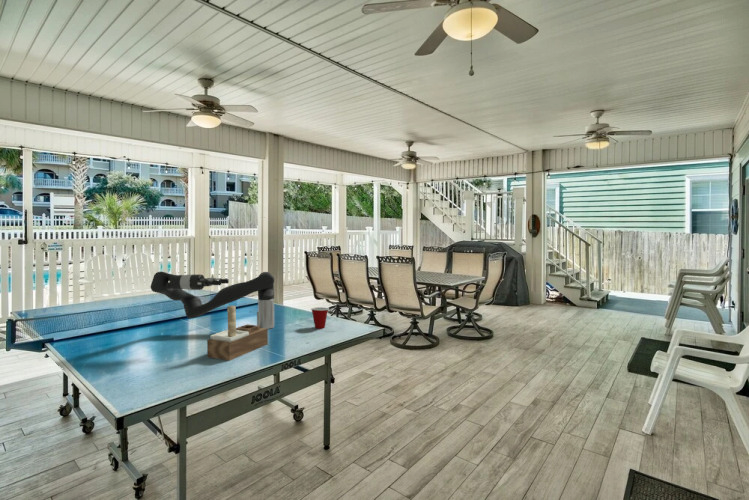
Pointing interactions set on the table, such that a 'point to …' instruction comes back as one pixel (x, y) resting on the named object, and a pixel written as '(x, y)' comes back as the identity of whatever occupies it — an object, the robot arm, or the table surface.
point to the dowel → (231, 321)
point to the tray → (224, 337)
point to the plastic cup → (319, 316)
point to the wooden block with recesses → (238, 343)
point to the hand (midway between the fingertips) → (224, 282)
